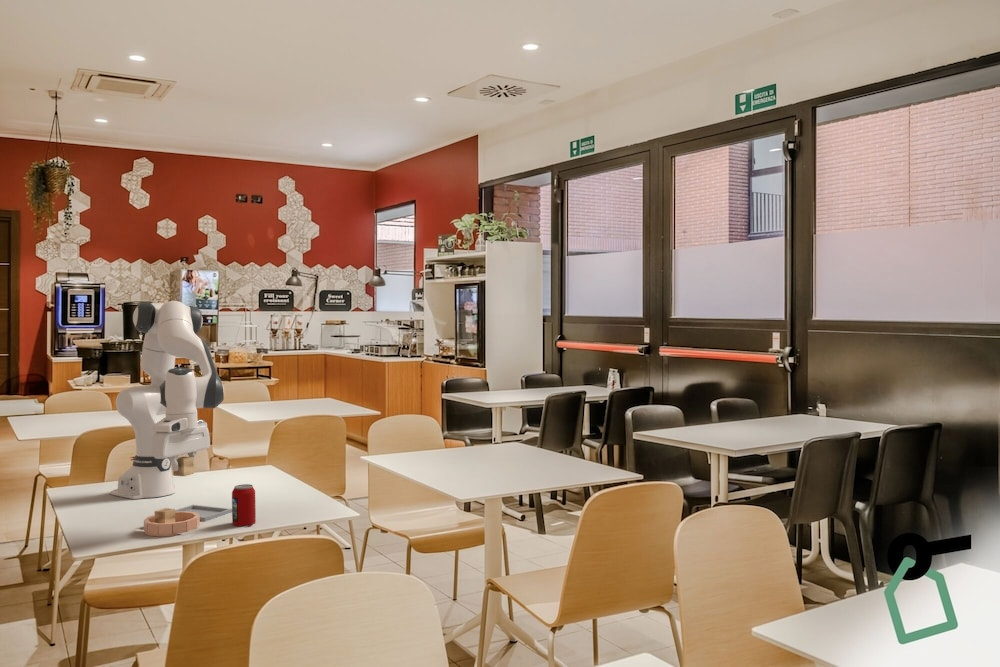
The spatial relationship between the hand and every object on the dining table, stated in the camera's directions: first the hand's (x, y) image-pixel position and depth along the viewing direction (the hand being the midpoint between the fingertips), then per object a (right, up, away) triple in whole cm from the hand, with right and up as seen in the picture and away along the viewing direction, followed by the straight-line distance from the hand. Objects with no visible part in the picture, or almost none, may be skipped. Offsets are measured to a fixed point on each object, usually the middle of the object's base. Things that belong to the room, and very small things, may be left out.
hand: (183, 469), depth 241 cm
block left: (-6, -18, +2) cm, 19 cm away
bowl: (-4, -18, +1) cm, 19 cm away
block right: (0, -2, 0) cm, 2 cm away
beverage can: (+17, -18, +5) cm, 25 cm away
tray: (-1, -18, +16) cm, 24 cm away
